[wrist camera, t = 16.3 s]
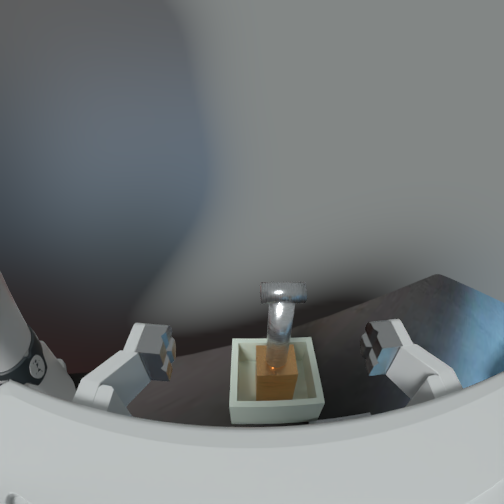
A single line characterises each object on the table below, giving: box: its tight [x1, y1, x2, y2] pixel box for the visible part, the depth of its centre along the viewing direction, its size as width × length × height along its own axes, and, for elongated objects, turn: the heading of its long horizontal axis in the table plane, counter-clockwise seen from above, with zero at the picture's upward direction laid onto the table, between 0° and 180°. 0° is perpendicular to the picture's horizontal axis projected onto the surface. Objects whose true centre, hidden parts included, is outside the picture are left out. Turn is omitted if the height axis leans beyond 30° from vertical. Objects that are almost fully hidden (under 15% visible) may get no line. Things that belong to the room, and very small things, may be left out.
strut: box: [255, 282, 307, 401], centre depth 36 cm, size 6×6×21 cm
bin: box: [229, 337, 325, 424], centre depth 40 cm, size 13×13×6 cm
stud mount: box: [308, 412, 371, 424], centre depth 30 cm, size 10×10×8 cm
